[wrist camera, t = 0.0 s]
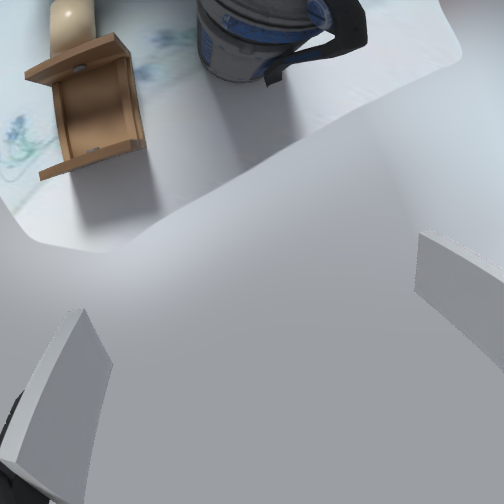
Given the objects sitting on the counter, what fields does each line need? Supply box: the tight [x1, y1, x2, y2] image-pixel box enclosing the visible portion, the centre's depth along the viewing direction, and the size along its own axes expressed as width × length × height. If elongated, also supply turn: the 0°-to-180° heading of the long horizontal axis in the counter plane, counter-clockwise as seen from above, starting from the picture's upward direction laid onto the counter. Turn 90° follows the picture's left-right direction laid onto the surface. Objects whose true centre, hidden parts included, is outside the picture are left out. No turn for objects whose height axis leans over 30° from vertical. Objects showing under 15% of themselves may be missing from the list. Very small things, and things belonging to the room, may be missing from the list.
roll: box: [50, 0, 96, 58], centre depth 22 cm, size 8×6×6 cm
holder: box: [25, 32, 146, 181], centre depth 26 cm, size 13×11×8 cm
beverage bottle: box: [197, 0, 368, 87], centre depth 19 cm, size 10×13×25 cm
